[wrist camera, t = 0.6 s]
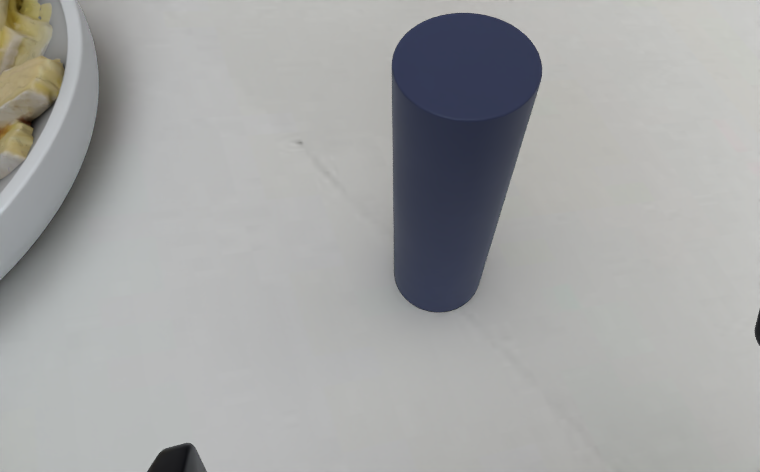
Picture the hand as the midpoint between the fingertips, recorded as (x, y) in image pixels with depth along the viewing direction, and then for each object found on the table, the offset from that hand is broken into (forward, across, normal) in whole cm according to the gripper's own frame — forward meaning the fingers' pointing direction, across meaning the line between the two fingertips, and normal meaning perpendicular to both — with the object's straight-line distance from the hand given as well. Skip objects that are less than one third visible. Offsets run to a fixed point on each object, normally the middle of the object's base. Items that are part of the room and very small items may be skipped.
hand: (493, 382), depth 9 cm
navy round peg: (+15, -3, +9) cm, 18 cm away
